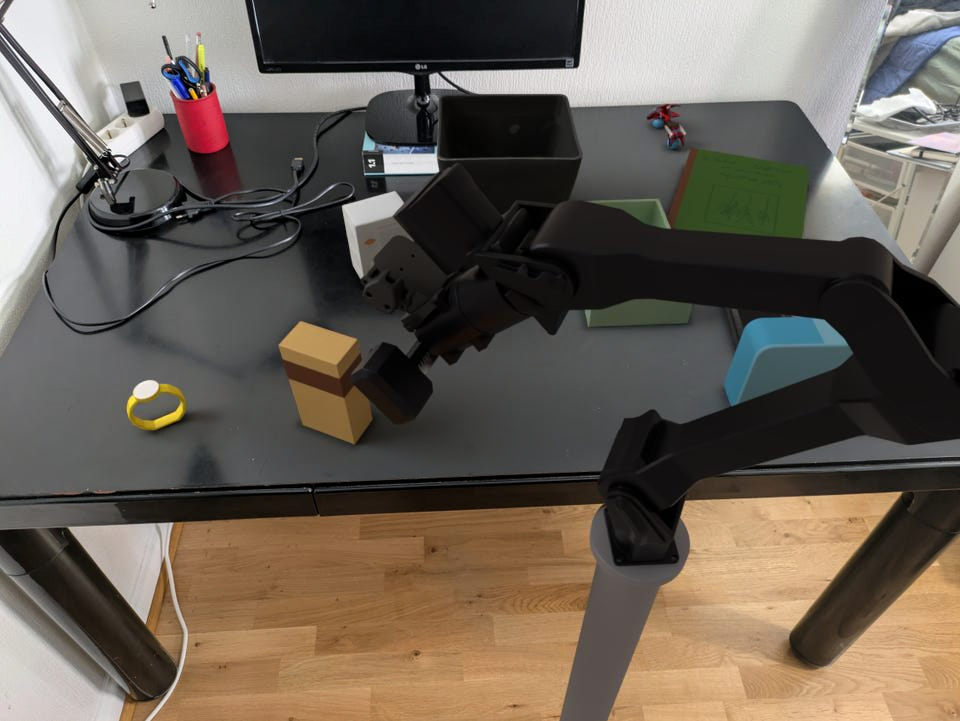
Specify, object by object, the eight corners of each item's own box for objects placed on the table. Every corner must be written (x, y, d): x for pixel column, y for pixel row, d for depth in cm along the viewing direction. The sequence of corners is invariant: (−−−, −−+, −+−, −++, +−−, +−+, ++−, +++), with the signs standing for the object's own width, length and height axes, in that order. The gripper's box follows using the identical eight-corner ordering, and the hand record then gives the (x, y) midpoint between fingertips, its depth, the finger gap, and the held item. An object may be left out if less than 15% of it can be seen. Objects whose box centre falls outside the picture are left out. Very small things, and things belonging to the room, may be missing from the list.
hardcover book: (686, 167, 118) (691, 147, 116) (801, 187, 113) (809, 167, 111) (659, 250, 102) (663, 229, 99) (792, 278, 97) (800, 257, 95)
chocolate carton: (373, 419, 80) (358, 338, 71) (354, 445, 77) (336, 365, 68) (321, 400, 82) (300, 320, 73) (302, 425, 80) (277, 345, 70)
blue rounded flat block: (819, 389, 83) (858, 315, 74) (833, 418, 80) (876, 344, 71) (720, 390, 83) (747, 317, 74) (730, 420, 80) (760, 346, 71)
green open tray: (687, 323, 91) (696, 291, 87) (588, 327, 91) (592, 295, 87) (652, 229, 106) (658, 198, 102) (566, 232, 105) (569, 201, 101)
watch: (189, 404, 82) (172, 370, 78) (194, 421, 80) (177, 386, 76) (136, 424, 80) (116, 389, 76) (140, 440, 78) (120, 406, 74)
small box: (403, 251, 102) (396, 189, 95) (417, 272, 99) (412, 210, 91) (351, 266, 100) (340, 204, 92) (364, 288, 96) (354, 225, 89)
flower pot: (558, 190, 113) (567, 90, 101) (572, 261, 100) (584, 156, 88) (443, 192, 113) (438, 93, 101) (442, 264, 100) (436, 159, 88)
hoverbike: (666, 119, 130) (671, 90, 126) (689, 151, 122) (696, 121, 118) (639, 122, 130) (644, 93, 125) (661, 154, 121) (667, 124, 117)
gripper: (468, 171, 60) (375, 244, 72) (354, 298, 49) (265, 362, 60) (547, 265, 64) (447, 320, 75) (458, 405, 52) (355, 446, 63)
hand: (384, 357), depth 68 cm, fingers open, 9 cm apart
